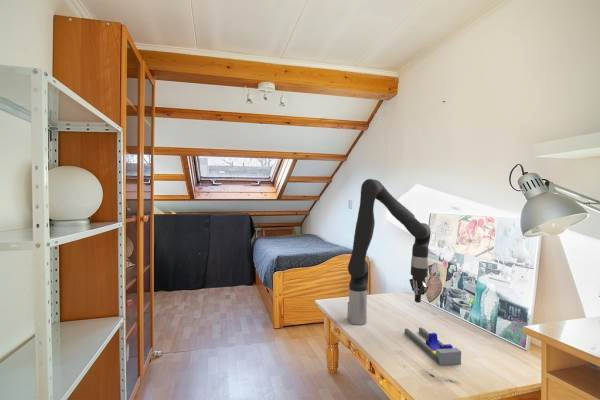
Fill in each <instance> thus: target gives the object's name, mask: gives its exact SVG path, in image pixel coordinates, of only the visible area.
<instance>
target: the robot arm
mask: <svg viewBox="0 0 600 400" xmlns="http://www.w3.org/2000/svg"><path fill="white" fill-rule="evenodd" d="M375 200H377V201H378V202H380V203H381V204H383V206H384V207H385V208H386V209H387V210H388V212H389V213H390V214H391V215H392V216H393V217H394V218H395V219H396V220H397V221H398V222H399V223H401V225H403V226H404V227H405V229H406V230H407V231H408V232H409V234H410V235H411V236H413V237H414V243H413V244H412V249H411V251H412V252H411V253H412V254H411V260H410V275H411V276H412V278H409V283H410V288H411V290H412V292H413V293H414V302H416V303H421V301H422V299H421V298H422V296H425V294H426V293H427V291H428V289H429V286H428V285H426V278H427V277H429V276H428V274H429V244H430V240H431V232H432V231H431V226H430V225H428V224H427V223H425V222H421V221H420V220H418V219H417V218H416V216H415V214H414V213H412V211H410V210H409V209H408V208H407V207H406V206H405V205H403V204H402V203H400V201H398V200H397V199H396V198H395V197H394V196H393V195H392V194H391V193H390V192H389V191H388V190H387V189H386V187H385V186H384V185H383V184H382V183H381V181H380V180H378V179H373V178H368V179H366V180H364V181H363V183H362V184H361V187H360V199H359V208H358V213H357V219H356V222H355V229H354V230H355V231H354V234H353V235H354V237H353V245H352V250H351V254H350V258H349V262H348V266H347V272H348V273H349V275H350V281H349V284H348V302H347V313H346V314H347V317H346V318H347V319H346V320H347V321H348V322H349V323H350V325H355V326H363V325H365V324H367V312H368V311H367V306H368V303H367V300H368V298H367V297H368V284H369V265H368V264H369V262H367V260H366V258H367V252H368V249H369V247H370V245H371V242H372V240H373V239H372V238H373V235H374V229H375V224H376V223H375V220H376V219H375V213H374V207H375V203H376V202H375Z"/></svg>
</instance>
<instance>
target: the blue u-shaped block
mask: <svg viewBox="0 0 600 400" xmlns="http://www.w3.org/2000/svg"><path fill="white" fill-rule="evenodd" d="M428 333H429V332H428ZM425 344H427V345H428V346H429V347H430V348H431V349H433V350H434V351H436V349H442V348H441V346H440V345H439V342H438V334H437V333H436V332H431V333H429V340H427V339H425ZM447 348H454V347H453V345H452V344H451V343H447V344H444V346H443V349H447Z"/></svg>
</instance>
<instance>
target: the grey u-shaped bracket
mask: <svg viewBox="0 0 600 400" xmlns="http://www.w3.org/2000/svg"><path fill="white" fill-rule="evenodd" d="M418 334H420V336H422V337H424V339H425V340H429V332H428V331H427V330H426V329H424V328H423V327H418ZM404 335H405V336H407V338H409V339H410V340H411V341H412V342H413V343H414V344H416V346H417V347H419V348H420V349H421V350H422V352H424V353H425V354H426V355H428V356H429V357H430V358H431V359H432V360H434V362H436V364H438V365H439V366H440V367H442V366H451V365H461V364H462V350H460V349H458V348H457V347H453V348H447V349H443V346H444V345H445V344H444V343H442V342H441V340H438V342H439V345H440V346H441V348H442V349H436V351H434V350H433V349H431V348H430V347H429V346H428V345H427V344H426V342H424V341H423V340H422V339H421V338H420V337H418V336H417V335H416V334H415V333H414V332H412V331H411V330H410V329H409V328H404Z"/></svg>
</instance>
